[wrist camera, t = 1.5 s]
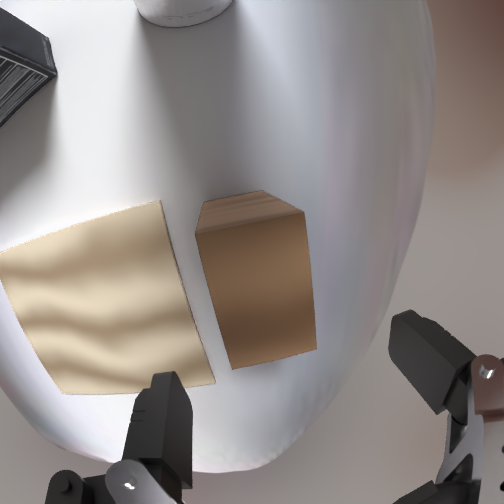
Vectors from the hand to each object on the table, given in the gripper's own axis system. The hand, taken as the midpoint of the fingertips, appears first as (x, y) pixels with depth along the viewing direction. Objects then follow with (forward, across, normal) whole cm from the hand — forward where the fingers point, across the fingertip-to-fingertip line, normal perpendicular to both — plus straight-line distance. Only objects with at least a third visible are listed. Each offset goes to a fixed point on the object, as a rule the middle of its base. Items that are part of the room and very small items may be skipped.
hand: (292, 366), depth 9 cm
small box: (+16, +20, -22) cm, 34 cm away
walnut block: (+16, 0, 0) cm, 16 cm away
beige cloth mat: (+16, +17, +5) cm, 24 cm away
